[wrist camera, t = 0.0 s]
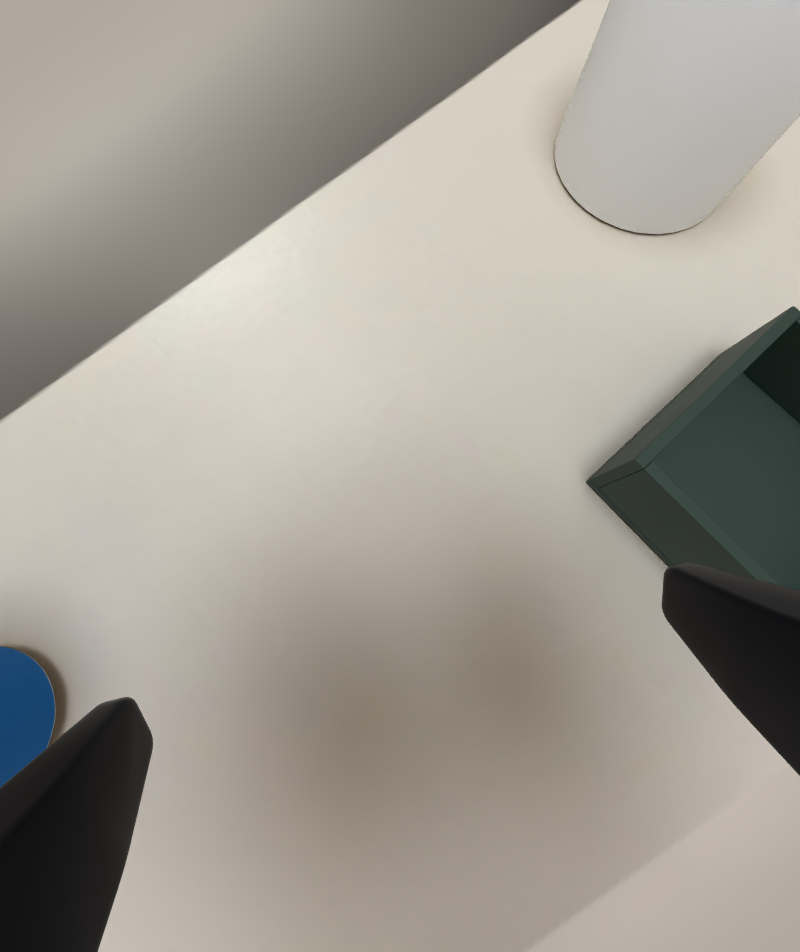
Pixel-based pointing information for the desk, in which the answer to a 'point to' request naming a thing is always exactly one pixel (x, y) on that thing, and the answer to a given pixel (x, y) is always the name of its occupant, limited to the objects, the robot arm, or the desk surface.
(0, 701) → the beverage can
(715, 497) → the dark green square tray
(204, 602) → the desk surface
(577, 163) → the cup
